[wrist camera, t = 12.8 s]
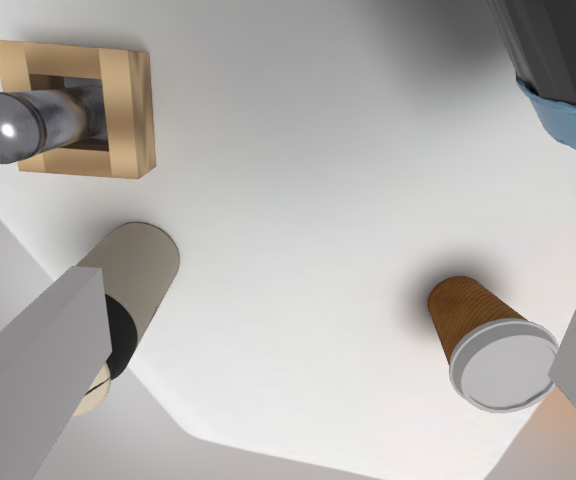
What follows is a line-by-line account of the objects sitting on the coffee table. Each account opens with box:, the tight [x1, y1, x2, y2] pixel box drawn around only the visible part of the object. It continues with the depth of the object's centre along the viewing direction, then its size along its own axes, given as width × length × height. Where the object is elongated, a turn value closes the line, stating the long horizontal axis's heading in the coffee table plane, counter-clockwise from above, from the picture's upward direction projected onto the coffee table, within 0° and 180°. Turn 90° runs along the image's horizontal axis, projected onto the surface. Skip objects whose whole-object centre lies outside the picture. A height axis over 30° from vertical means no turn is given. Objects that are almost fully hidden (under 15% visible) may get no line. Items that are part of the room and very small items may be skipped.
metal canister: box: [0, 86, 107, 164], centre depth 29 cm, size 4×4×14 cm
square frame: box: [0, 40, 156, 179], centre depth 34 cm, size 10×10×5 cm
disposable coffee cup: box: [428, 277, 559, 413], centre depth 39 cm, size 10×10×12 cm
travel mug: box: [72, 223, 180, 416], centre depth 34 cm, size 8×8×18 cm
